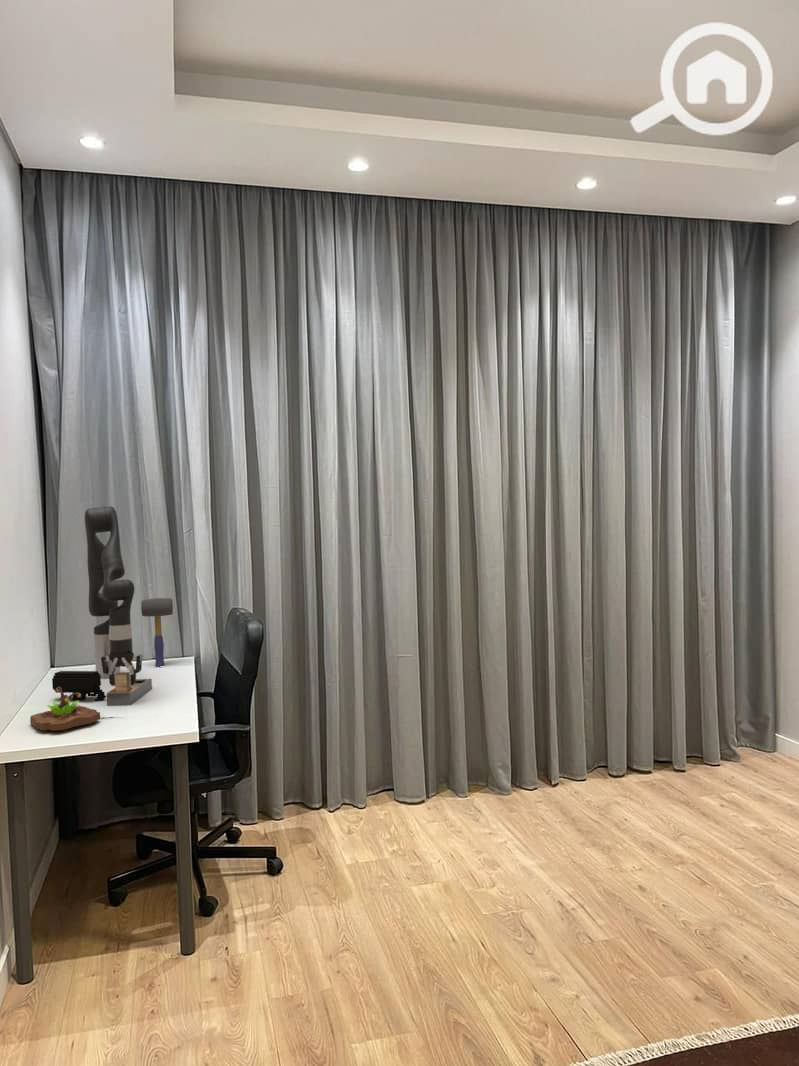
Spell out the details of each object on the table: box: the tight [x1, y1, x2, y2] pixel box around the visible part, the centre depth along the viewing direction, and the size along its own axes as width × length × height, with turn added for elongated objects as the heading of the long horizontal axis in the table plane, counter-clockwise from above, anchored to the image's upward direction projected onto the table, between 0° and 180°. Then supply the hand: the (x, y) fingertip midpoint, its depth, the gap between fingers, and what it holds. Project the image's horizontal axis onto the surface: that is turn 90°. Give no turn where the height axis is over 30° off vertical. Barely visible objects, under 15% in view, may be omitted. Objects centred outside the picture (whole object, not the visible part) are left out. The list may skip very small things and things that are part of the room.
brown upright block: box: [114, 671, 131, 692], centre depth 298 cm, size 4×4×9 cm
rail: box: [106, 678, 153, 707], centre depth 305 cm, size 24×8×4 cm, turn 179°
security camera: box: [51, 670, 107, 702], centre depth 303 cm, size 7×18×10 cm, turn 79°
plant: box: [29, 687, 101, 732], centre depth 274 cm, size 20×20×11 cm
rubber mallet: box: [140, 597, 174, 668], centre depth 352 cm, size 12×8×30 cm, turn 101°
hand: (122, 685), depth 298 cm, fingers open, 6 cm apart
